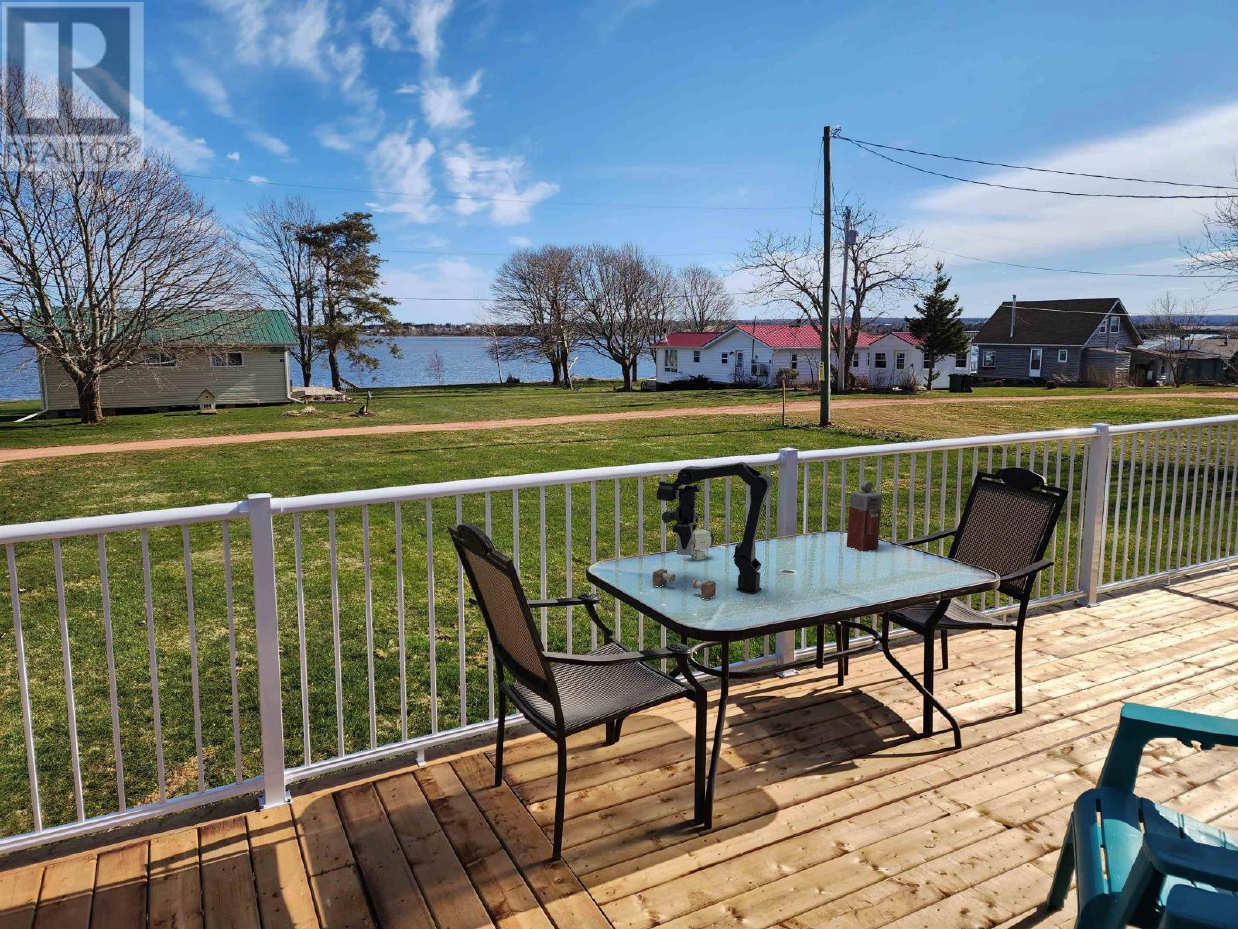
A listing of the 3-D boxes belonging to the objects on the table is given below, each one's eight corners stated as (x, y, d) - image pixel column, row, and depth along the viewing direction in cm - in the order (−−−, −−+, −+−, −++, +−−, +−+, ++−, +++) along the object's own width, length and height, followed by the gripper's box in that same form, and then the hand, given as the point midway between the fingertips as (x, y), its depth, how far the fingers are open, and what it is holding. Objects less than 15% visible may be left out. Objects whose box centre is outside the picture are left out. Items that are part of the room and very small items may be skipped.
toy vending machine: (866, 553, 310) (871, 484, 305) (846, 546, 319) (851, 480, 315) (882, 551, 314) (888, 483, 309) (862, 544, 323) (867, 478, 319)
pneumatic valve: (681, 559, 294) (683, 529, 292) (705, 555, 300) (707, 525, 298) (690, 563, 289) (692, 532, 287) (714, 559, 295) (716, 528, 293)
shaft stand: (715, 596, 252) (716, 581, 251) (707, 600, 248) (708, 585, 247) (660, 582, 265) (661, 568, 264) (652, 586, 261) (653, 572, 260)
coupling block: (694, 552, 268) (695, 529, 267) (692, 555, 264) (693, 533, 262) (677, 550, 270) (678, 528, 269) (675, 554, 265) (676, 531, 264)
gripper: (669, 496, 275) (667, 538, 277) (658, 507, 257) (656, 552, 260) (700, 498, 272) (698, 541, 275) (691, 509, 254) (689, 555, 257)
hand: (685, 547), depth 266 cm, fingers closed on coupling block, 5 cm apart
